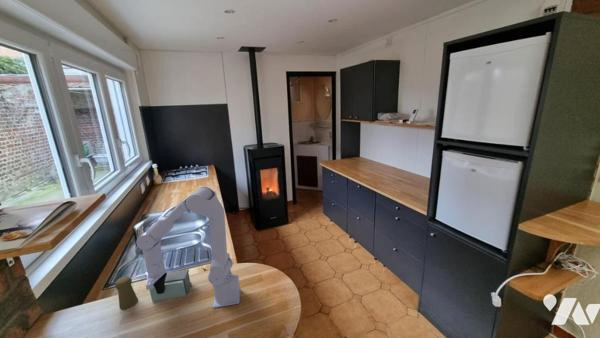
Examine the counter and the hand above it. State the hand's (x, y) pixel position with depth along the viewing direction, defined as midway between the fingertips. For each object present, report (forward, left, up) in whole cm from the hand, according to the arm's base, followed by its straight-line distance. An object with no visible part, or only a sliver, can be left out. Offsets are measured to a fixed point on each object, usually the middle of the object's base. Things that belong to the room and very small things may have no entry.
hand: (161, 292), depth 94 cm
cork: (+13, -2, -4) cm, 14 cm away
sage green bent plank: (-2, -1, -4) cm, 4 cm away
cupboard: (-2, -5, -4) cm, 7 cm away
